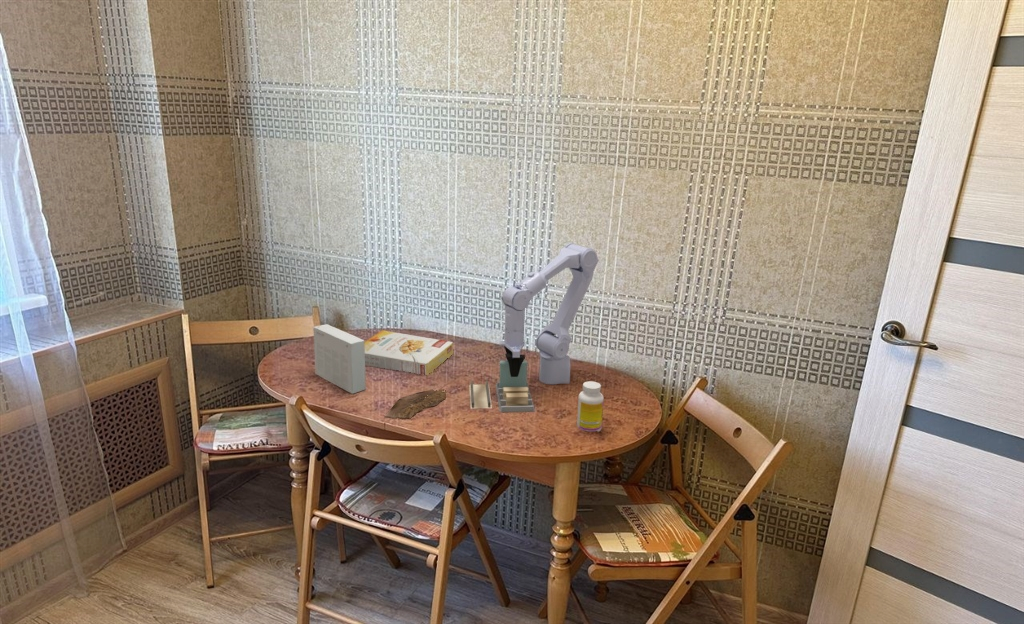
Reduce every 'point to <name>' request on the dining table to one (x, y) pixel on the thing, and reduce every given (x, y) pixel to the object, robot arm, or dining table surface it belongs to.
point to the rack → (513, 408)
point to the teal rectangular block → (512, 381)
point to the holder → (480, 396)
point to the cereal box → (406, 352)
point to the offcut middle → (514, 390)
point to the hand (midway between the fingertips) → (513, 371)
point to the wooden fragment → (415, 403)
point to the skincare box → (339, 358)
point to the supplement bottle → (590, 407)
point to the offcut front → (516, 399)
